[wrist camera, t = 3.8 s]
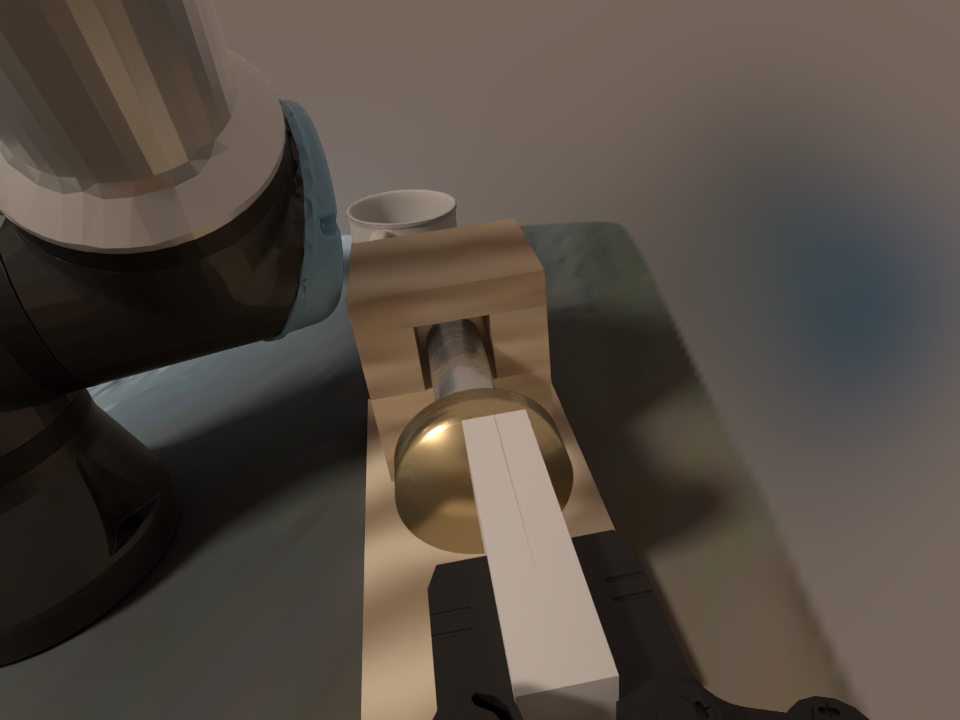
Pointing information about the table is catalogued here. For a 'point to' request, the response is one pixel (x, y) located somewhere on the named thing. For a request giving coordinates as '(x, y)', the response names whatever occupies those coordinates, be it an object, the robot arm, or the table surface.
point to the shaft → (461, 442)
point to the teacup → (401, 214)
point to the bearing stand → (408, 389)
